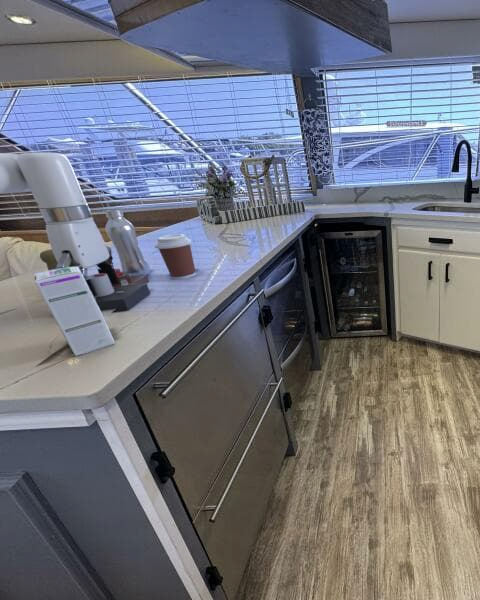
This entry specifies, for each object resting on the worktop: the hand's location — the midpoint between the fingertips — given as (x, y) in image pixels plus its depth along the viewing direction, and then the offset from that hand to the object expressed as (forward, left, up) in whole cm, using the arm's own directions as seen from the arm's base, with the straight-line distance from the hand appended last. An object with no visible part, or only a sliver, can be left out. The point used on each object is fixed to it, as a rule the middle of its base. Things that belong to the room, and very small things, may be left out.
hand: (100, 289), depth 76 cm
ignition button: (-4, +13, -1) cm, 14 cm away
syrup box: (+9, -22, -4) cm, 24 cm away
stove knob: (0, 0, -1) cm, 1 cm away
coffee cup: (+10, +20, -4) cm, 23 cm away
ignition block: (-4, +13, -4) cm, 14 cm away
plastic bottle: (-4, +24, -4) cm, 25 cm away
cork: (-20, +20, -4) cm, 29 cm away
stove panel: (0, 0, -4) cm, 4 cm away
